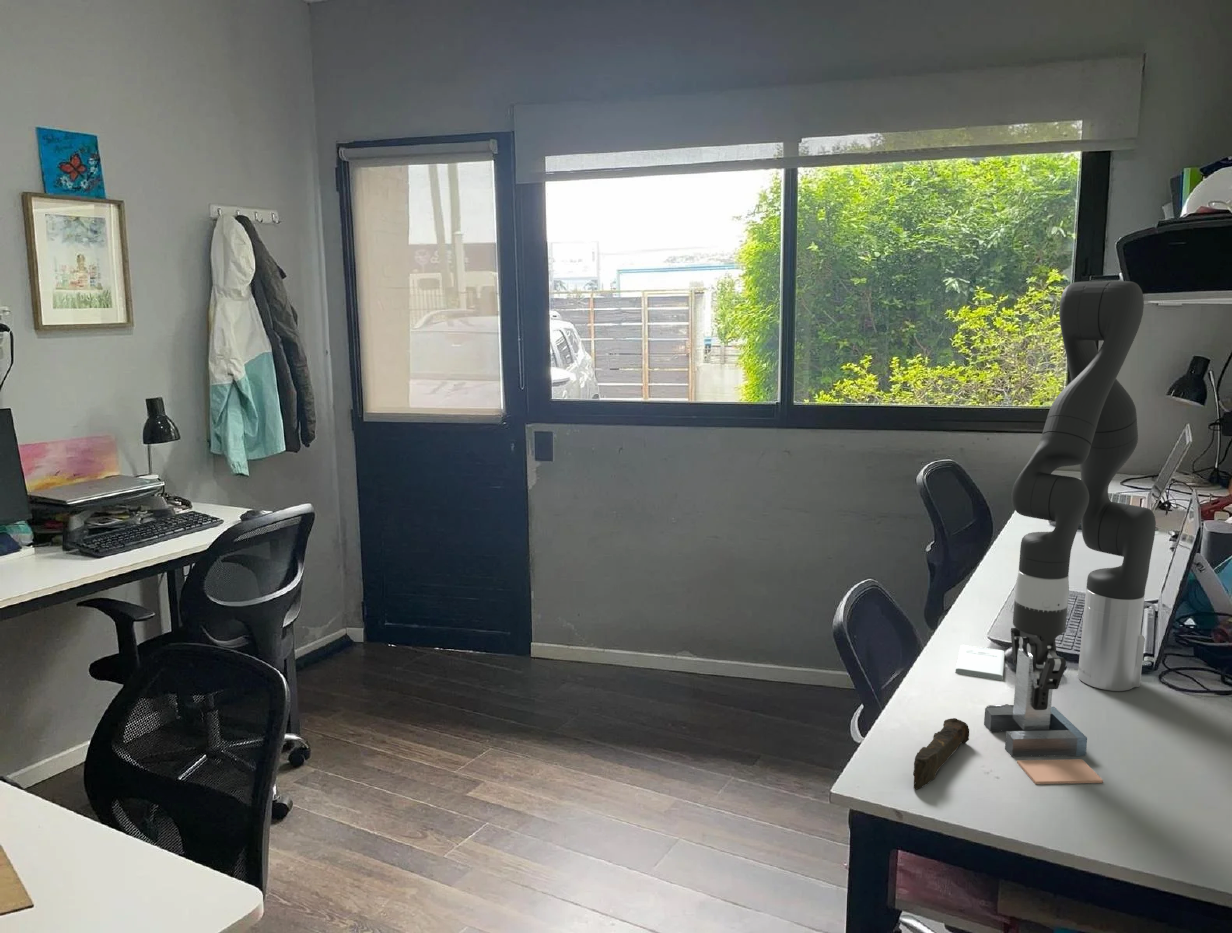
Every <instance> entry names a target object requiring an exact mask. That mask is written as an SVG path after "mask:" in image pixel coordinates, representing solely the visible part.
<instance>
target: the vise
mask: <svg viewBox="0 0 1232 933" xmlns="http://www.w3.org/2000/svg"><path fill="white" fill-rule="evenodd" d="M1013 707H1014V704H1008V703H1007V704H996V705H995V704H991V705H990V704H988V705H986V707H984V718H983V726H984V727H985V728H986V729H987V730H988V732H990V733H1001V732H1002V733H1005V743H1004V744H1005V745H1004V750H1005V751H1006V752H1007V753H1008V755H1010V756H1011V757H1012V758H1022V757H1023V758H1026V757H1027V758H1028V757H1034V758H1035V757H1080V756H1081V757H1082V756H1086V754H1087V743H1088V736H1086V735H1085V734H1084V733H1083V732H1082V731H1081V730H1080V729H1079V728H1078V727H1076V725H1075V724H1074V723H1072V722H1071V721H1070V720H1069V719H1068V718H1067V717H1066V716H1065V715H1064V714H1062V713H1061V711H1060V710H1058V709H1057V708H1056V707H1055V706H1051V712H1050V723H1049V730H1023V729H1022V728H1021V727H1020V726H1019V724H1018V723H1017V722H1016V721H1015V720H1014V719H1013Z"/></svg>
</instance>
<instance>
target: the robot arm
mask: <svg viewBox="0 0 1232 933" xmlns="http://www.w3.org/2000/svg"><path fill="white" fill-rule="evenodd" d="M1144 303H1145V300H1144V295H1143V289H1142V288H1141V287H1140V285H1139V284H1138V283H1137V282H1134V281H1128V280H1127V281H1126V280H1112V281H1111V280H1101V281H1100V280H1099V281H1098V280H1096V281H1095V280H1094V281H1092V280H1091V281H1089V280H1088V281H1075V282H1072V283H1069V285H1067V286H1066V287H1065V288H1064V290H1063V291H1062V293H1061V297H1060V301H1059V310H1058V311H1059V312H1058V313H1059V324H1060V331H1061V336H1062V340H1063V345H1064V351H1065V356H1066V361H1067V366H1068V370H1069V377H1070V382H1069V383H1068V384H1067V385H1066V386H1065V387H1064V388H1063V389H1062V390H1061V391H1060V392H1059V394H1058V395H1057V396H1056V397H1055V399H1054V400H1053V402H1052V404H1051V406H1050V408H1049V411H1048V413H1047V417H1046V420H1045V423H1044V427H1043V430H1042V434H1041V437H1040V440H1039V442H1038V445H1037V446H1036V448H1035V450H1034V451H1033V453H1032V455H1031V456H1030V458H1029V460H1028V461H1027V463H1026V464H1025V466H1024V467H1023V469H1022V470H1021V472H1020V473H1019V475H1018V476H1017V478H1016V479H1015V481H1014V483H1013V486H1012V490H1011V494H1010V495H1011V496H1010V498H1011V504H1012V507H1013V508H1014V509H1013V510H1015V512H1016V513H1017V514H1019V515H1021V516H1023V517H1026V518H1032V519H1039V520H1045V521H1050V522H1055V526H1054V529H1053V530H1051V531H1035V532H1029V533H1027V534H1024V535H1023V537H1022V538H1021V541H1020V546H1019V547H1020V548H1019V549H1020V550H1019V563H1018V572H1017V576H1016V582H1015V590H1014V603H1013V612H1012V613H1013V614H1012V615H1013V616H1012V625H1013V627H1011V629H1010V641H1011V653H1012V654H1011V655H1012V663H1013V666H1017V657H1018V649H1021V650H1022V651H1027V653H1028V654H1029V657H1030V658H1031V659H1032V661H1031V672H1032V673H1033V674H1034V675H1033V685H1034V686H1033V695H1032V708H1033V709H1034V710H1046V709H1047V706H1048V694H1049V689H1053V690H1058V689H1059V686H1060V685H1061V684H1060V683H1061V681H1062V678H1063V674H1064V671H1065V668H1066V665H1067V663H1066V662H1067V660H1066V659H1065V657H1059V656H1058V655H1057V653H1056V652H1057V643H1056V639H1057V637H1059V636H1060V635H1062V634H1064V633H1065V632H1066V626H1067V618H1068V617H1067V616H1068V605H1069V597H1070V583H1069V577H1070V576H1069V575H1070V574H1069V573H1070V562H1071V554H1072V549H1073V548H1072V547H1073V544H1074V540H1075V537H1076V535H1077V532H1078V529H1079V527H1080V524H1081V535H1082V539H1083V541H1084V545H1085V546H1086V547H1087V548H1089V549H1091V550H1093V551H1096V552H1098V553H1099V552H1100V553H1102V554H1103V553H1104V554H1109V555H1113V556H1119V557H1123V560H1122V564H1121V565H1119V566H1114V567H1107V568H1099V569H1094V570H1092V571H1090V572H1089V573H1088V575H1087V580H1086V588H1085V596H1084V597H1085V598H1084V607H1083V608H1084V609H1083V616H1082V617H1083V619H1082V629H1081V638H1080V639H1081V640H1080V648H1079V649H1080V650H1079V657H1078V658H1079V659H1078V666H1077V667H1078V668H1077V670H1078V671H1077V678H1078V679H1079V680H1080V681H1082V682H1083V683H1084V684H1086V685H1088V686H1091V687H1094V688H1096V689H1100V690H1103V691H1104V690H1105V691H1112V692H1124V691H1129V690H1132V689H1134V688H1140V686H1141V678H1142V677H1141V676H1142V667H1143V659H1144V652H1145V642H1146V638H1145V636H1144V635H1142V633H1141V632H1142V631H1141V630H1142V621H1143V612H1144V602H1145V593H1146V587H1147V586H1146V585H1147V583H1148V582H1147V581H1148V577H1149V571H1150V564H1151V563H1150V562H1151V559H1152V558H1151V557H1152V553H1153V551H1152V550H1153V548H1154V547H1153V546H1154V541H1155V534H1156V529H1157V528H1156V527H1157V522H1156V517H1155V514H1154V512H1153V510H1151V509H1150V508H1149V507H1145V506H1139V505H1132V504H1127V503H1120V502H1114V501H1111V500H1110V498H1109V487H1110V486H1109V485H1110V484H1111V482H1112V480H1113V479H1114V478H1115V476H1116V475H1117V473H1118V472H1119V471H1120V470H1121V469H1122V468H1123V466H1124V465H1125V464H1126V463H1127V461H1129V459H1130V458H1131V456H1132V455H1133V453H1134V452H1135V450H1136V449H1137V446H1138V441H1139V434H1138V431H1139V430H1138V417H1137V416H1138V414H1137V407H1136V404H1135V402H1134V400H1133V399H1132V397H1131V396H1130V394H1129V392H1128V391H1127V390H1126V388H1124V386H1123V385H1122V383H1120V381H1119V380H1118V379H1117V377H1118V376H1119V374H1120V371H1121V369H1122V367H1123V365H1124V363H1125V360H1126V358H1127V356H1128V354H1129V351H1130V349H1131V347H1132V345H1133V343H1134V341H1135V339H1136V336H1137V334H1138V332H1139V328H1140V326H1141V324H1142V323H1141V322H1142V318H1143V314H1144V306H1145V304H1144ZM1096 341H1099V342H1100V341H1103V342H1102V344H1101V347H1100V348H1099V350H1098V347H1097V345H1096ZM1071 466H1079V469H1080V478H1077V477H1075V476H1069V475H1068V476H1067V475H1061V474H1053V472H1054V471H1055V470H1057V469H1060V468H1064V467H1071ZM1036 664H1037V665H1045V666H1044V668H1037V667H1036ZM1040 673H1042V675H1041V679H1039V674H1040ZM1052 679H1053V680H1052Z"/></svg>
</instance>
